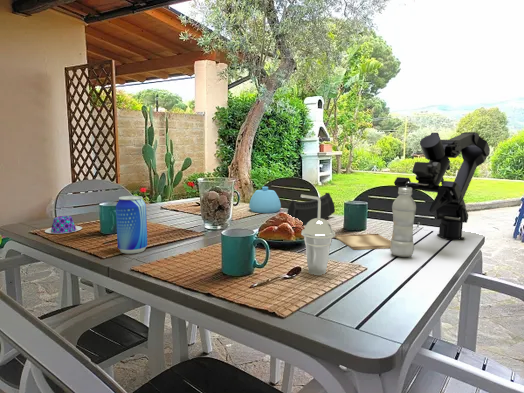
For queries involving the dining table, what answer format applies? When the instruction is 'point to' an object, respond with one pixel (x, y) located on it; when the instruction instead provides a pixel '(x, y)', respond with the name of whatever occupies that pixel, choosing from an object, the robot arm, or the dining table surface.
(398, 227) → the plastic bottle
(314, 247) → the cup with straw
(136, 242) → the beer can
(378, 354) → the dining table surface
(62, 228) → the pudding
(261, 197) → the sugar bowl
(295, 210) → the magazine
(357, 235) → the mat
